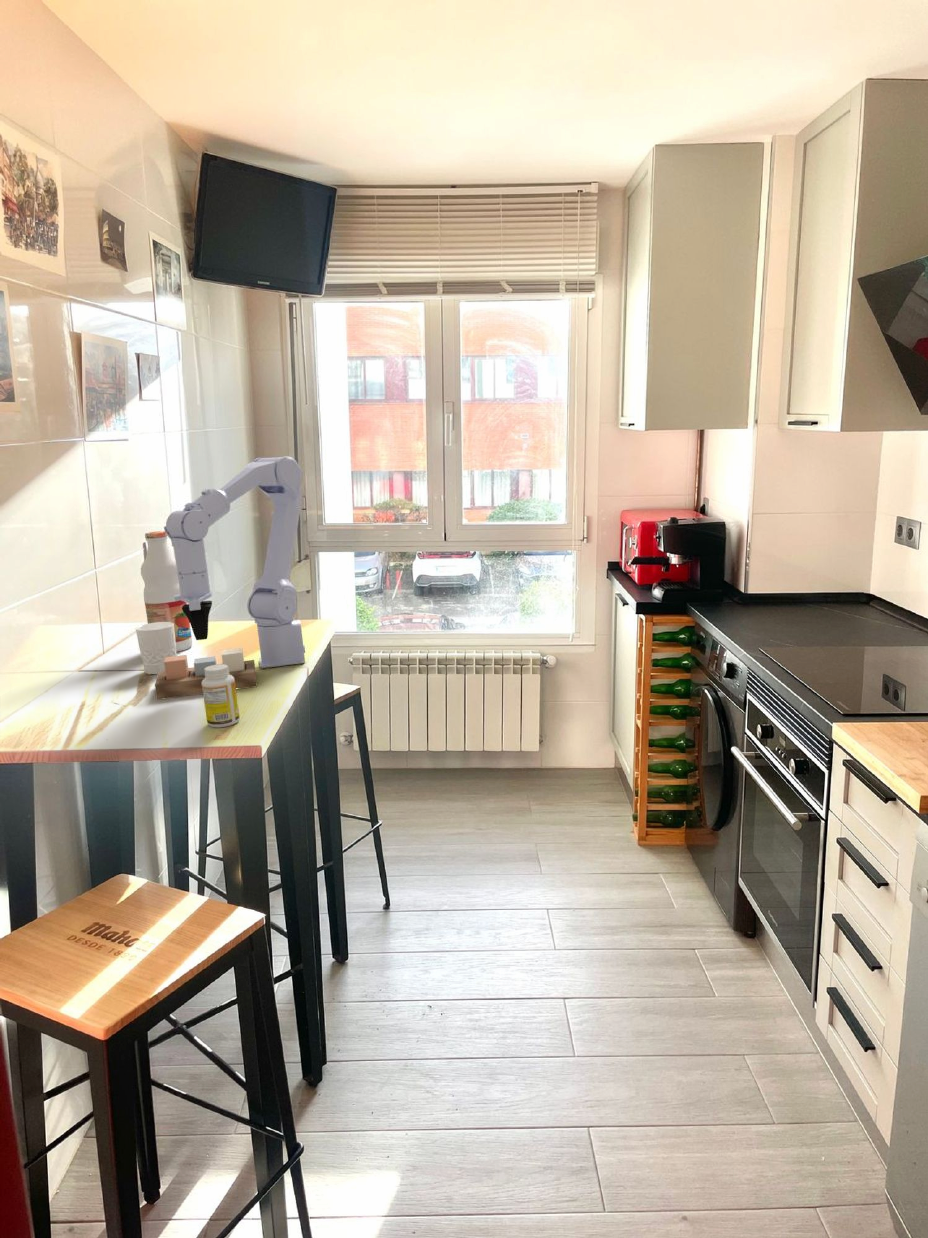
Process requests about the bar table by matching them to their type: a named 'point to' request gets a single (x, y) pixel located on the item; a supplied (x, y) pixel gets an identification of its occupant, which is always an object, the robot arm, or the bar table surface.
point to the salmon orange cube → (176, 667)
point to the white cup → (156, 645)
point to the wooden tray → (200, 682)
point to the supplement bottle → (220, 696)
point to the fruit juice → (164, 589)
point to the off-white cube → (233, 659)
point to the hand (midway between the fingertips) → (201, 639)
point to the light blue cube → (203, 664)
